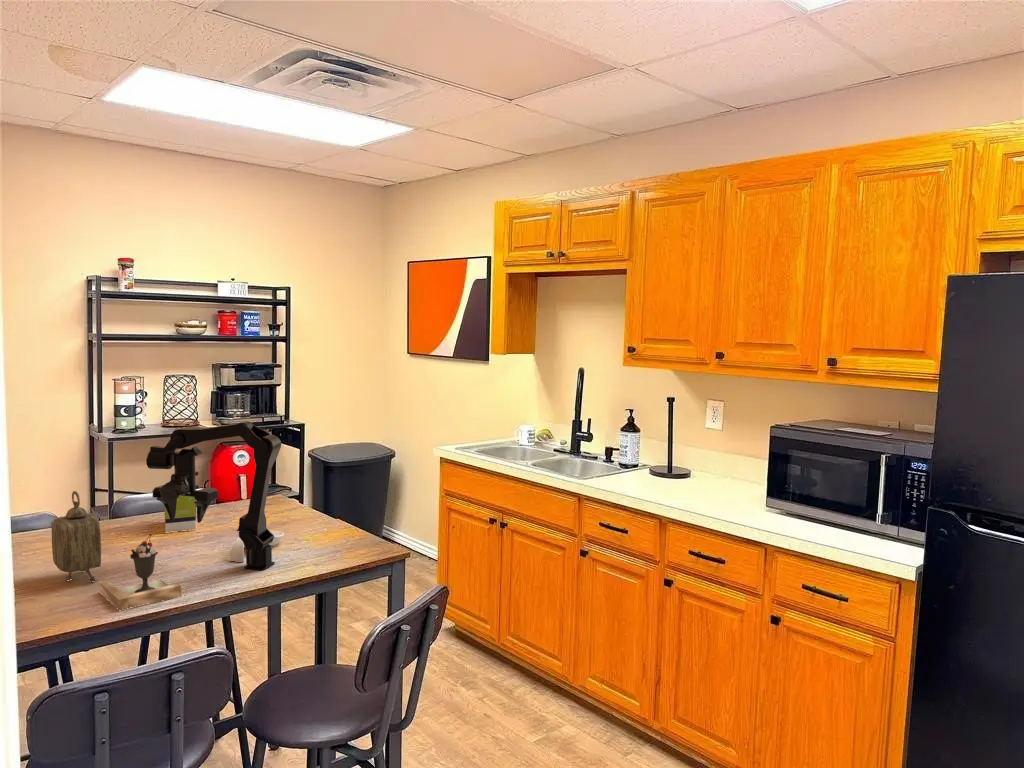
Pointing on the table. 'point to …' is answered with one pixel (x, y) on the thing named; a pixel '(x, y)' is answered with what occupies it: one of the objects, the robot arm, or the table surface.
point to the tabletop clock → (76, 541)
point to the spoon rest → (238, 547)
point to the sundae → (144, 563)
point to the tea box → (182, 515)
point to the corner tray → (131, 599)
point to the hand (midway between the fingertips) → (185, 521)
